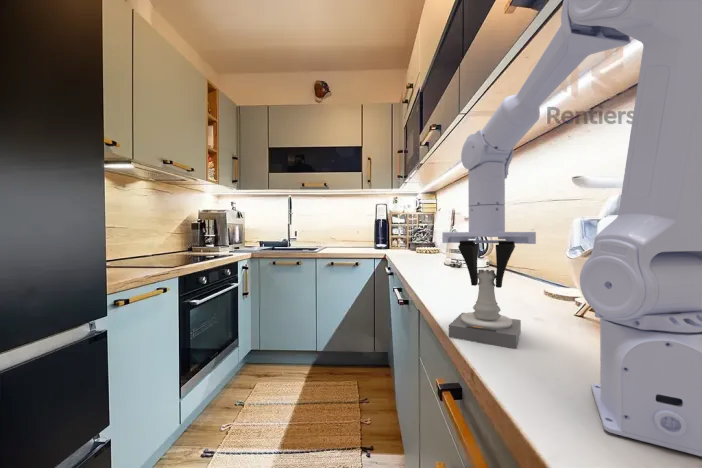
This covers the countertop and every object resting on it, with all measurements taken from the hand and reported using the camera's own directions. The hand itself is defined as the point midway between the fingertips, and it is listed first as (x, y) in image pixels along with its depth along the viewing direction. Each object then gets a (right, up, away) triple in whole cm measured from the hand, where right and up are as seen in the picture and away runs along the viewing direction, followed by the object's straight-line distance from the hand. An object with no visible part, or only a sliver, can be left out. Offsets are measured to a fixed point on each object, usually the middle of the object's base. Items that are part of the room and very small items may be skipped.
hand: (486, 285), depth 53 cm
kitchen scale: (0, -8, 0) cm, 8 cm away
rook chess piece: (0, -6, 0) cm, 6 cm away
